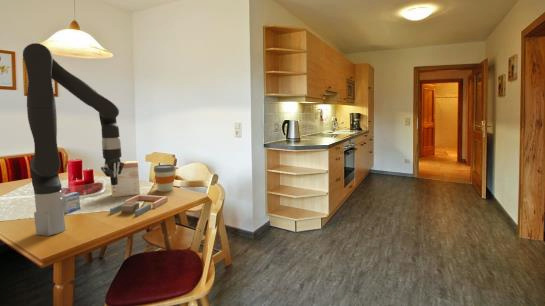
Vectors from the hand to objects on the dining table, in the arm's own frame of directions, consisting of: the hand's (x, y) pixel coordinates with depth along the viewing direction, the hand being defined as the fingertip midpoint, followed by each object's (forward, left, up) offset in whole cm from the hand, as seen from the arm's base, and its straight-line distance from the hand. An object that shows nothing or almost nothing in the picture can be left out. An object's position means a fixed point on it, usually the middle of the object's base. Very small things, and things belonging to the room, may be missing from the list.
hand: (114, 184), depth 144 cm
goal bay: (+23, 0, -16) cm, 28 cm away
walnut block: (+10, 0, -16) cm, 19 cm away
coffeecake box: (+37, +22, -16) cm, 46 cm away
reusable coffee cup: (+52, +5, -16) cm, 55 cm away
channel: (+10, 0, -16) cm, 19 cm away
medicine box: (+5, +30, -16) cm, 35 cm away
